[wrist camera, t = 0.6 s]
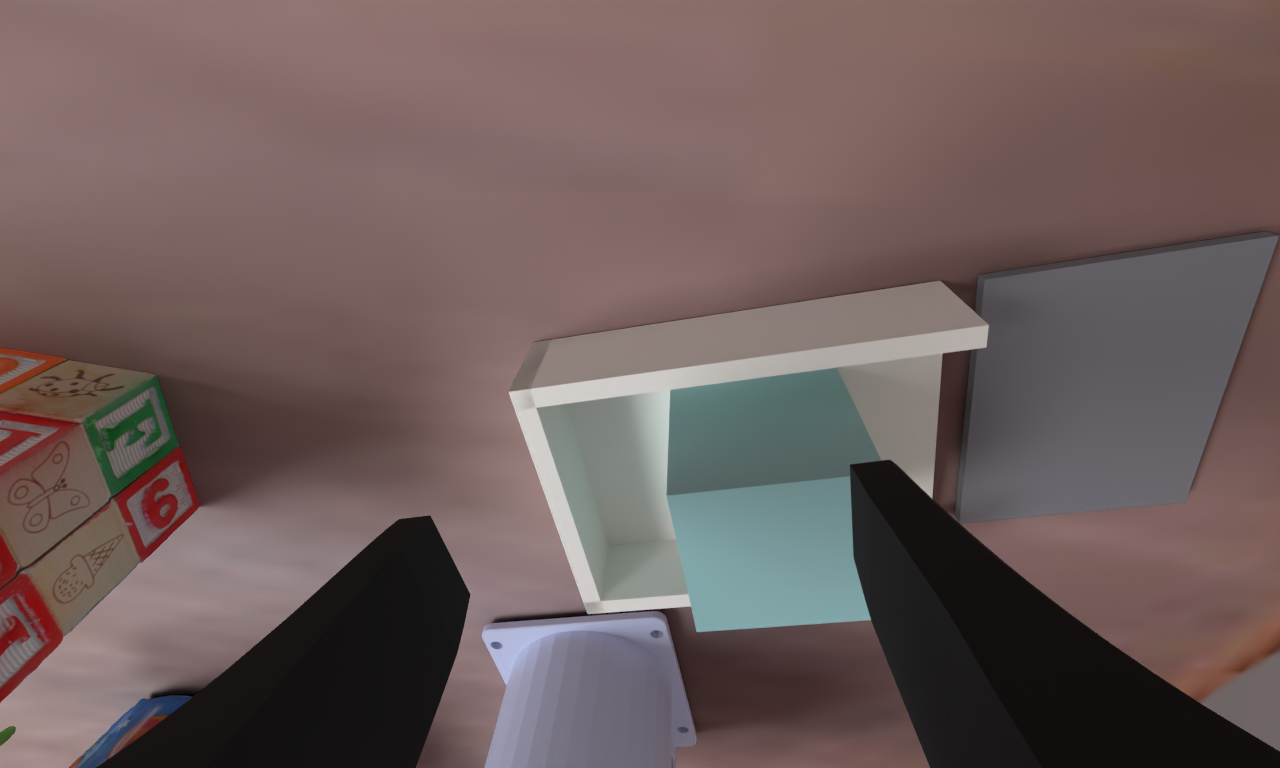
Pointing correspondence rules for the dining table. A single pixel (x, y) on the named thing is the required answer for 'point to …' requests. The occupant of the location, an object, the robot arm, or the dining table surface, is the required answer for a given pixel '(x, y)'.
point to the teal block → (767, 500)
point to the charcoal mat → (1103, 377)
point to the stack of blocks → (77, 495)
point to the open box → (702, 355)
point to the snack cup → (122, 729)
